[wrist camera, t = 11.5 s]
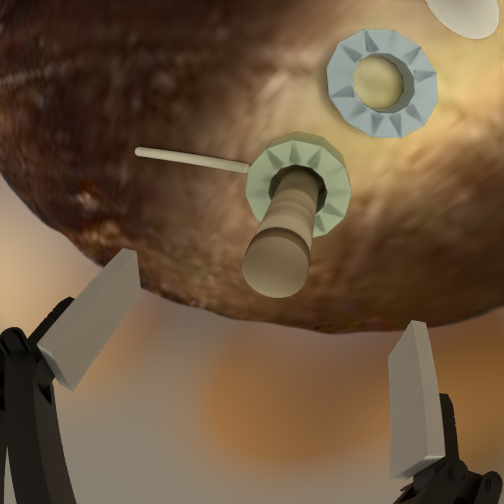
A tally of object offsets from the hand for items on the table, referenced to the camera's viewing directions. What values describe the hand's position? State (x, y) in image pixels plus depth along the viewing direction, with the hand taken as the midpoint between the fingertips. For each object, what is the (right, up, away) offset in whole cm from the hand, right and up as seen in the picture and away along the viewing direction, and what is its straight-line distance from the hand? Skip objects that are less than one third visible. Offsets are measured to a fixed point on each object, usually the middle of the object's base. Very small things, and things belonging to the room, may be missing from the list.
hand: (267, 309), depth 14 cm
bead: (+4, +10, +16) cm, 19 cm away
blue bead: (+10, +18, +9) cm, 23 cm away
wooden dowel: (+4, +10, +16) cm, 19 cm away
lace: (-7, +12, +17) cm, 22 cm away
